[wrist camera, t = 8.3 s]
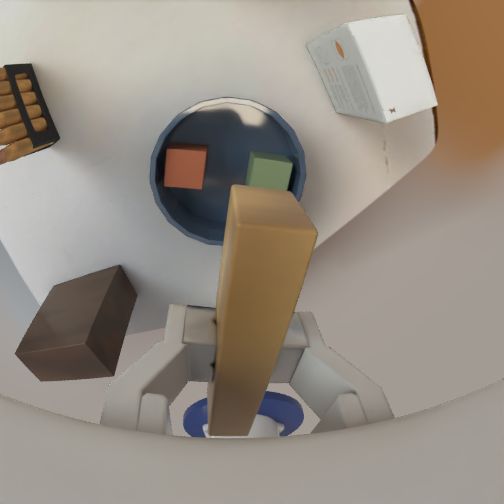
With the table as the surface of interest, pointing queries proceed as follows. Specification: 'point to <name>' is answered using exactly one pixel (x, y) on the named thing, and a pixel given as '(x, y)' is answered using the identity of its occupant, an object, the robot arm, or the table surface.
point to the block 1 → (185, 165)
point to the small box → (374, 69)
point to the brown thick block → (80, 328)
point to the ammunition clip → (23, 114)
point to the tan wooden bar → (255, 300)
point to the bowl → (221, 161)
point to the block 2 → (268, 171)
